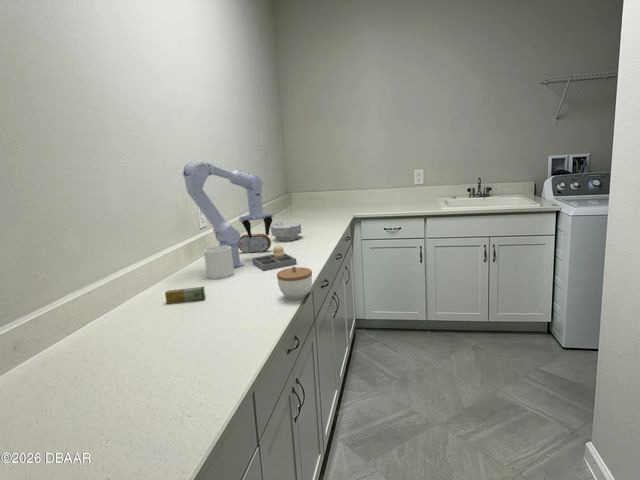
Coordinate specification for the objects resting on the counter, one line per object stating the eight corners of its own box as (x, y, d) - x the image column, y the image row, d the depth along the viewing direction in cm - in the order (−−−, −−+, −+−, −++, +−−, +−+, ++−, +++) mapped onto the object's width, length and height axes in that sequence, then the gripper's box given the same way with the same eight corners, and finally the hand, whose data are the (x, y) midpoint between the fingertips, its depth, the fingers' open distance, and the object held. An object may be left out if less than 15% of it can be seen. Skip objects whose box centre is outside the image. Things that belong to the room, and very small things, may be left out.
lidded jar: (282, 304, 125) (279, 274, 123) (276, 293, 135) (273, 265, 133) (317, 298, 128) (315, 268, 126) (309, 288, 138) (306, 260, 136)
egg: (275, 261, 173) (274, 247, 172) (272, 259, 177) (270, 246, 175) (286, 260, 175) (284, 246, 173) (282, 257, 178) (281, 244, 177)
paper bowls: (301, 241, 210) (299, 225, 208) (270, 243, 211) (268, 227, 209) (302, 235, 225) (301, 220, 223) (274, 237, 225) (272, 222, 224)
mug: (226, 279, 156) (222, 252, 153) (202, 278, 159) (198, 252, 156) (241, 269, 167) (238, 244, 165) (219, 269, 170) (216, 244, 168)
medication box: (206, 298, 137) (204, 286, 136) (204, 300, 134) (203, 288, 134) (168, 302, 136) (166, 290, 136) (166, 304, 134) (164, 292, 133)
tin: (271, 250, 195) (270, 232, 193) (270, 252, 192) (268, 234, 190) (240, 252, 197) (237, 234, 195) (238, 254, 194) (235, 236, 192)
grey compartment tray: (263, 270, 162) (262, 265, 162) (252, 263, 175) (252, 258, 174) (296, 264, 168) (296, 258, 168) (284, 257, 180) (283, 252, 180)
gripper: (241, 207, 172) (244, 240, 175) (274, 203, 178) (278, 235, 181) (236, 206, 178) (240, 237, 181) (269, 201, 184) (272, 232, 187)
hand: (258, 236), depth 181 cm, fingers open, 7 cm apart
